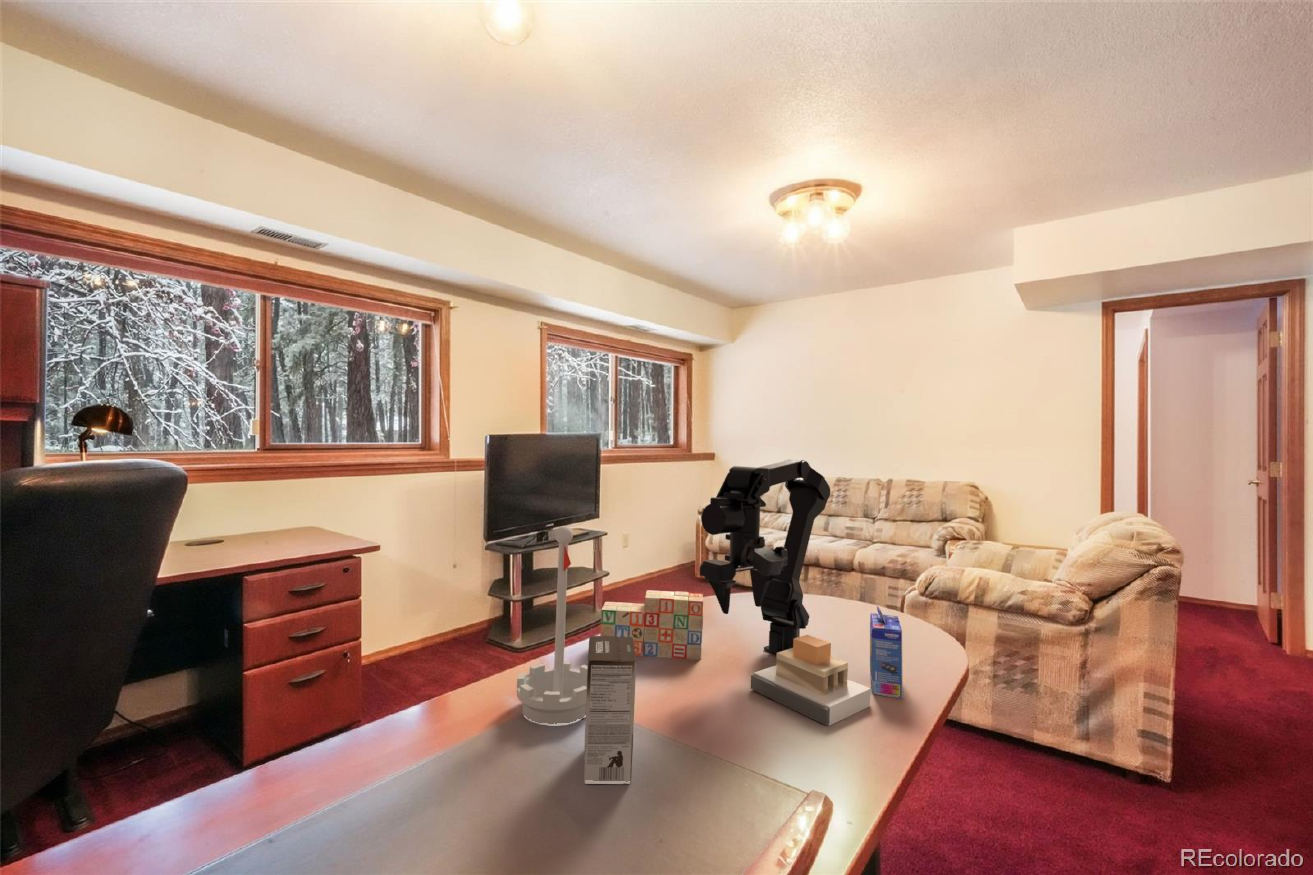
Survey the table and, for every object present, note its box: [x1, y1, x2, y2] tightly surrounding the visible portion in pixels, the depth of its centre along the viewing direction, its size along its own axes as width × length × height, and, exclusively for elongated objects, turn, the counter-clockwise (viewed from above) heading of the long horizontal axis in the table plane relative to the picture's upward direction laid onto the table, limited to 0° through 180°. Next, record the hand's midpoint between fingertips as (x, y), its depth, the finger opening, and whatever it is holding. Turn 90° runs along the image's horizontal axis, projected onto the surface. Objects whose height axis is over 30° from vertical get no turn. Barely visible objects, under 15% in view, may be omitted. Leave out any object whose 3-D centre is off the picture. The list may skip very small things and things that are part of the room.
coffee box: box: [583, 635, 637, 782], centre depth 76 cm, size 9×6×16 cm
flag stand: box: [516, 525, 588, 724], centre depth 91 cm, size 13×13×30 cm
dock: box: [749, 665, 872, 727], centre depth 99 cm, size 13×16×3 cm
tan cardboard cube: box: [793, 634, 832, 665], centre depth 99 cm, size 4×5×3 cm
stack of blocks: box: [599, 589, 704, 661], centre depth 119 cm, size 21×6×12 cm, turn 86°
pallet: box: [775, 648, 849, 696], centre depth 99 cm, size 7×10×4 cm
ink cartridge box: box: [869, 605, 904, 699], centre depth 105 cm, size 10×6×14 cm, turn 161°
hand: (742, 609), depth 110 cm, fingers open, 9 cm apart
